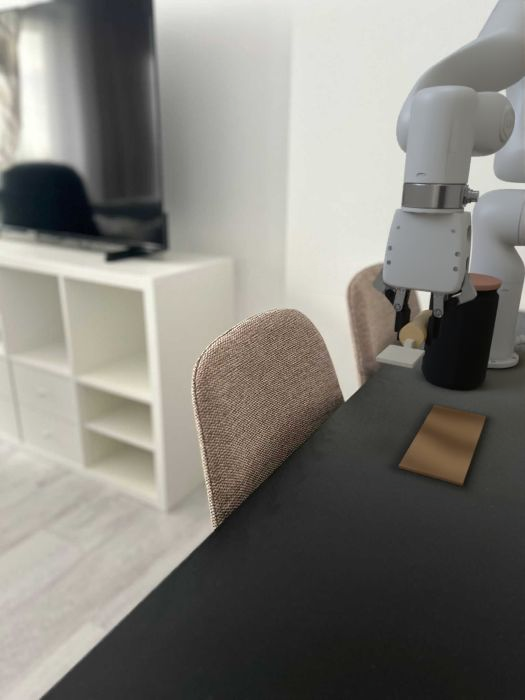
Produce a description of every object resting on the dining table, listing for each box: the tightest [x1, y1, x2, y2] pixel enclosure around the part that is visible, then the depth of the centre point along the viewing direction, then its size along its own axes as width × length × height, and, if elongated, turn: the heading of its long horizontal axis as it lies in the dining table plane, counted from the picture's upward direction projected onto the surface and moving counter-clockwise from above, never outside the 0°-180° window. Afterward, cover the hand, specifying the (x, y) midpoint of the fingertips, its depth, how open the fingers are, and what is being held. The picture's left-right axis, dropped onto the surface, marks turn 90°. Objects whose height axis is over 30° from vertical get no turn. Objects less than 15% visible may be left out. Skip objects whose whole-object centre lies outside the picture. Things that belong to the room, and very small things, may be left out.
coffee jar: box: [420, 273, 502, 391], centre depth 87 cm, size 11×11×18 cm
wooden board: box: [398, 404, 487, 487], centre depth 69 cm, size 20×8×1 cm, turn 150°
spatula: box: [375, 309, 432, 369], centre depth 67 cm, size 16×4×3 cm, turn 149°
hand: (416, 339), depth 69 cm, fingers closed on spatula, 3 cm apart
